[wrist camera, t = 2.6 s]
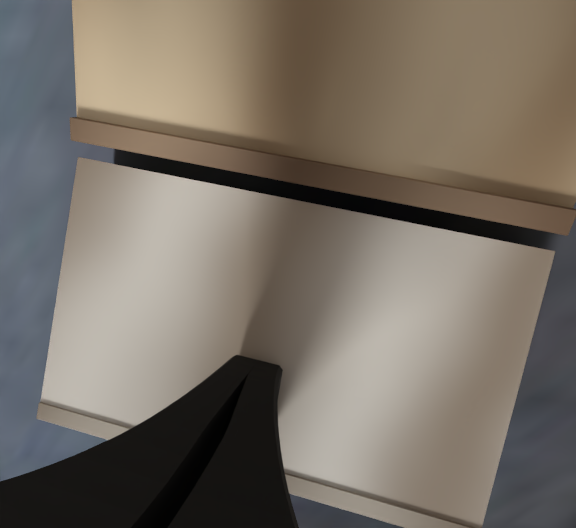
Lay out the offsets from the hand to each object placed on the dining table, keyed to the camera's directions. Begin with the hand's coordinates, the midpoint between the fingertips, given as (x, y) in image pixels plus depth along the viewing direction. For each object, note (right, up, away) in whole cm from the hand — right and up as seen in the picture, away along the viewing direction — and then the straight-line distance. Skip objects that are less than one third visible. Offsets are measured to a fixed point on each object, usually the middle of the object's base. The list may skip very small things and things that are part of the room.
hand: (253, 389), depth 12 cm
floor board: (+2, +9, 0) cm, 9 cm away
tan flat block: (+1, +1, +2) cm, 2 cm away
